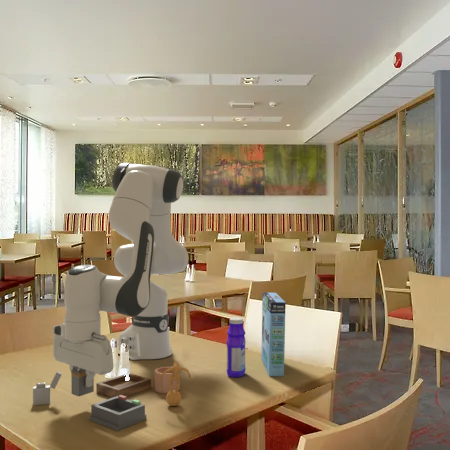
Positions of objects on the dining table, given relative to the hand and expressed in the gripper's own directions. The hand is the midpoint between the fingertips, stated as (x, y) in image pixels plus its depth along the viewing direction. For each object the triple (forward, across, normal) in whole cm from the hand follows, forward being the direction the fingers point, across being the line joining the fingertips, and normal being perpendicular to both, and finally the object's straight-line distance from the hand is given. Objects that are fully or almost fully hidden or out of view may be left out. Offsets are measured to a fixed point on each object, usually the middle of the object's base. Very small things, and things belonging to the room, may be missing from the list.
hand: (82, 384), depth 133 cm
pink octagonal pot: (+6, -6, -24) cm, 25 cm away
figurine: (+6, -17, -15) cm, 24 cm away
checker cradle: (+6, -13, -1) cm, 14 cm away
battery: (+2, 0, 0) cm, 2 cm away
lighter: (+6, +10, +3) cm, 13 cm away
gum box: (+7, -18, -60) cm, 63 cm away
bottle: (+7, -13, -47) cm, 49 cm away
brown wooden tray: (+6, +2, -16) cm, 17 cm away
